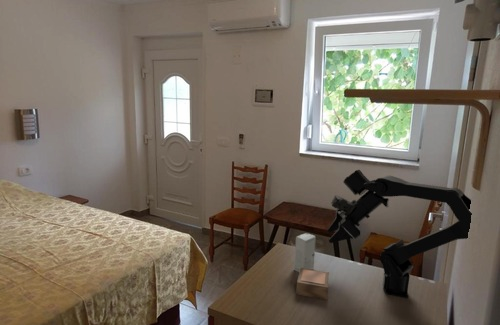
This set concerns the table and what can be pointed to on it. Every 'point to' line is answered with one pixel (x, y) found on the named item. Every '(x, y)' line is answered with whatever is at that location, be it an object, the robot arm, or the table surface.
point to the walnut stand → (313, 283)
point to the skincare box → (304, 252)
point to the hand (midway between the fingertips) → (328, 236)
